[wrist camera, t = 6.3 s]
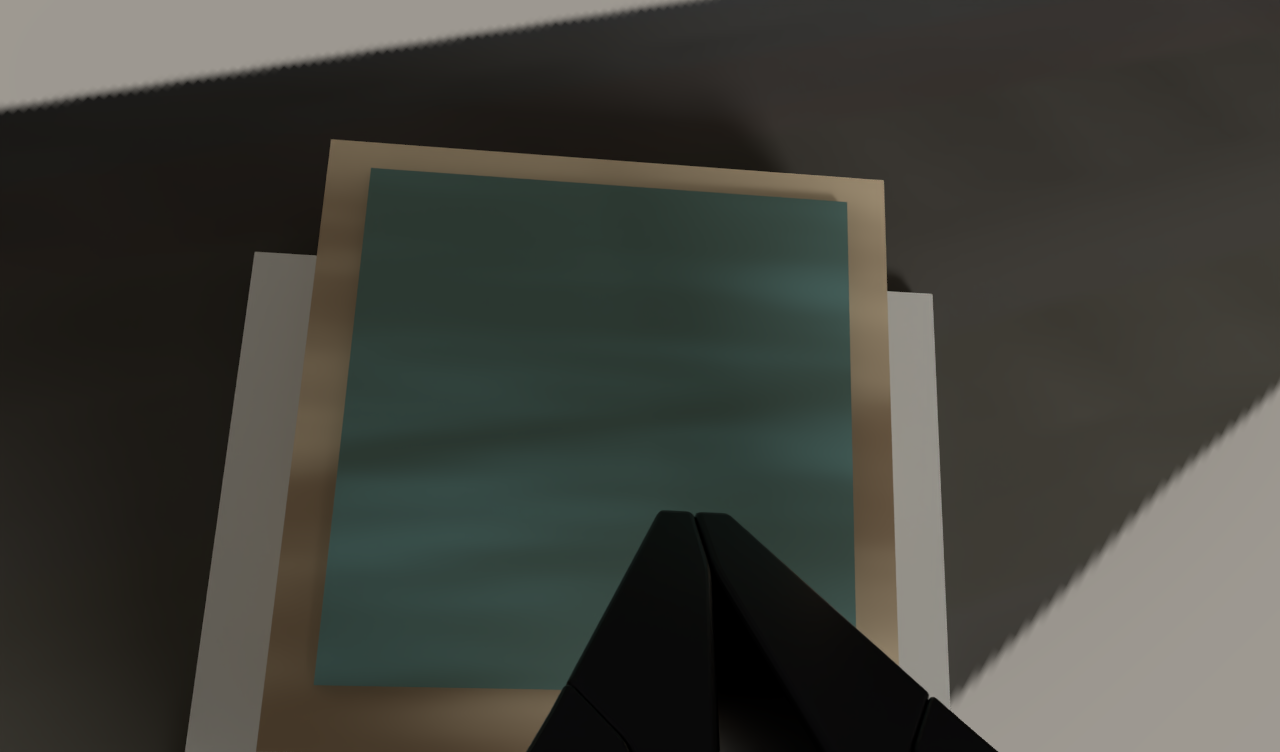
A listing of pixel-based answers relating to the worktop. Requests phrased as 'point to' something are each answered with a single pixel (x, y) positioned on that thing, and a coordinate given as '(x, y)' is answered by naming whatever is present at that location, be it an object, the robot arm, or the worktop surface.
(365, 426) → the plaque
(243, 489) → the mat
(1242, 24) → the worktop surface
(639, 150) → the worktop surface
